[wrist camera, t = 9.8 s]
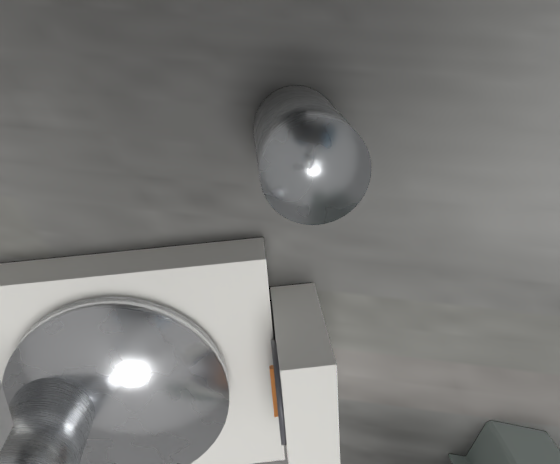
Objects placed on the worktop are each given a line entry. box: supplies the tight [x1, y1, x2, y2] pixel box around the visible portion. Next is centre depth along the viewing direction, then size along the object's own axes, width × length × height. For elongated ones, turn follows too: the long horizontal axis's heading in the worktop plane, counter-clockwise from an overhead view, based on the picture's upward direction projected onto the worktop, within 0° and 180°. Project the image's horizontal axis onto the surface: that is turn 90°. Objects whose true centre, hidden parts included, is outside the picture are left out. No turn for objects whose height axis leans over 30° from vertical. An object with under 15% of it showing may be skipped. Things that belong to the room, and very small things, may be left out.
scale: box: [0, 237, 340, 464], centre depth 27 cm, size 13×16×7 cm
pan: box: [2, 297, 229, 464], centre depth 27 cm, size 11×11×1 cm
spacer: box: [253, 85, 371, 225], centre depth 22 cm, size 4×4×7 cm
